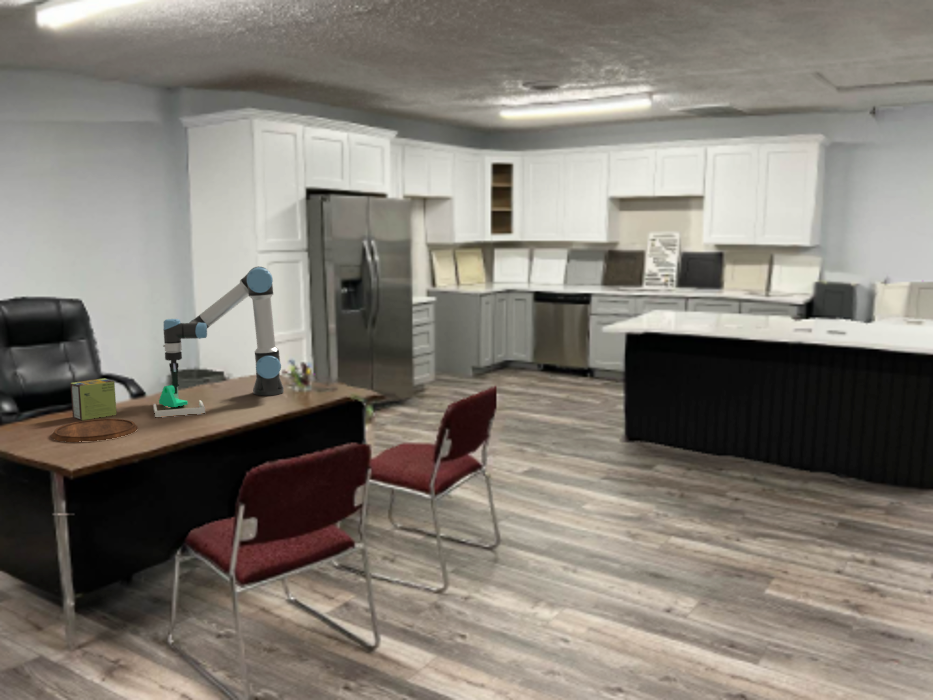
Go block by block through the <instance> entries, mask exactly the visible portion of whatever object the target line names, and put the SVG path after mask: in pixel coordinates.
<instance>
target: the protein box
mask: <svg viewBox="0 0 933 700" xmlns="http://www.w3.org/2000/svg"><path fill="white" fill-rule="evenodd" d="M115 385H116V383H115V380H111V379H108V378H98V379H89V380H84V381H77V382H76V381H75V382H70V385H69V386H70V395H71V397H70V398H71V408H72V412H71V413H72V418H74V419H77V420H80V421H86V420H95V419H100V418H99V417H101V418H107V417H111V416H112V415H113V416H116V414H117V401H116V386H115ZM106 416H107V417H106ZM94 418H95V419H94Z"/></svg>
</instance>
